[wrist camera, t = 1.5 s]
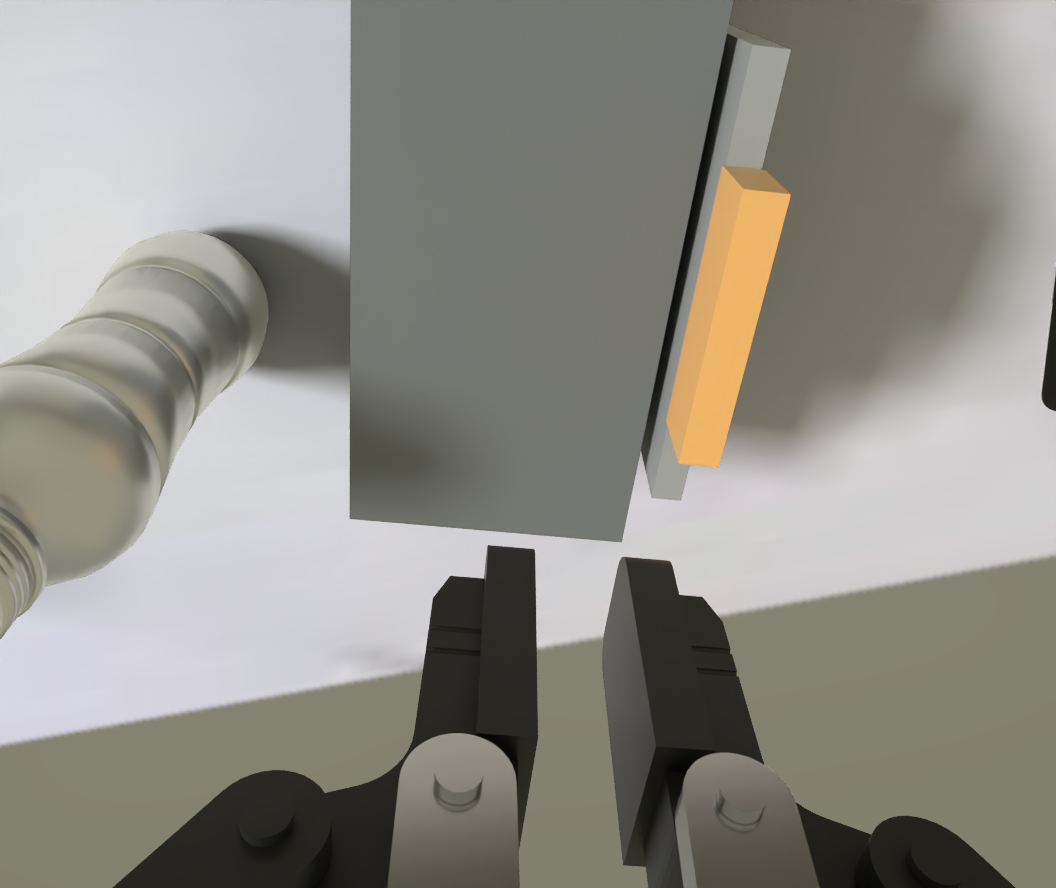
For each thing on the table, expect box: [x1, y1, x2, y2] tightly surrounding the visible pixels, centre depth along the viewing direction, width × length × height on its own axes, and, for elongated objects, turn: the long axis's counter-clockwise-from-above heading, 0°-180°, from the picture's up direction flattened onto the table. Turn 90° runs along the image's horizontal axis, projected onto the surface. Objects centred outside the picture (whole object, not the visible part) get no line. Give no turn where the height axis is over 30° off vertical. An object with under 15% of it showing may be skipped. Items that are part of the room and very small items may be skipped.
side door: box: [641, 25, 791, 500], centre depth 28 cm, size 14×1×13 cm, turn 174°
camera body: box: [350, 0, 734, 542], centre depth 30 cm, size 22×10×10 cm, turn 174°
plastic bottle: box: [0, 231, 269, 639], centre depth 28 cm, size 6×7×20 cm
